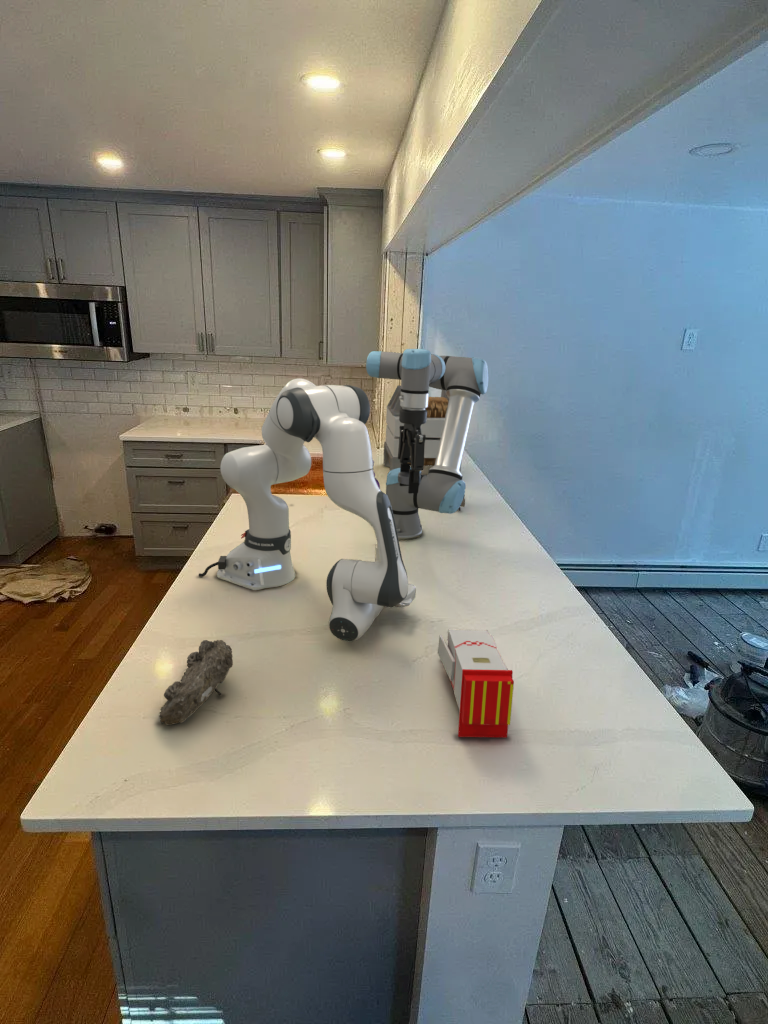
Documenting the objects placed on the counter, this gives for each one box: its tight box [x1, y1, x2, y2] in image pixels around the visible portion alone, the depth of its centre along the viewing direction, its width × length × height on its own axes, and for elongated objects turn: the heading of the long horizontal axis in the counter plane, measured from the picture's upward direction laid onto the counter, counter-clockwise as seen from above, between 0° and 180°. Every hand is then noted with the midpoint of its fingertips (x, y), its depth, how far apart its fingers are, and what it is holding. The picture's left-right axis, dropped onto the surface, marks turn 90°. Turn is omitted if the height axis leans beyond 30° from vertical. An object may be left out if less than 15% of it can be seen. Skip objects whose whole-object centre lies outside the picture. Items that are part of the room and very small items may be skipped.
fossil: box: [158, 639, 234, 726], centre depth 113 cm, size 22×10×15 cm
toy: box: [437, 628, 515, 738], centre depth 117 cm, size 12×13×30 cm
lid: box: [398, 471, 422, 485], centre depth 161 cm, size 6×6×2 cm
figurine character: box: [458, 493, 466, 511], centre depth 229 cm, size 7×8×15 cm
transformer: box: [383, 384, 463, 474], centre depth 268 cm, size 34×33×41 cm
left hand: (385, 576), depth 153 cm, fingers closed on jar, 5 cm apart
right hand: (408, 488), depth 162 cm, fingers closed on lid, 6 cm apart
